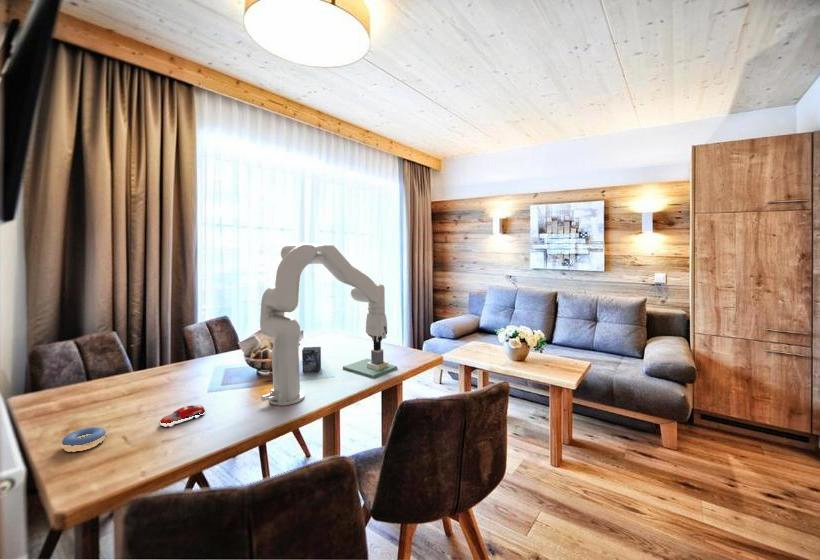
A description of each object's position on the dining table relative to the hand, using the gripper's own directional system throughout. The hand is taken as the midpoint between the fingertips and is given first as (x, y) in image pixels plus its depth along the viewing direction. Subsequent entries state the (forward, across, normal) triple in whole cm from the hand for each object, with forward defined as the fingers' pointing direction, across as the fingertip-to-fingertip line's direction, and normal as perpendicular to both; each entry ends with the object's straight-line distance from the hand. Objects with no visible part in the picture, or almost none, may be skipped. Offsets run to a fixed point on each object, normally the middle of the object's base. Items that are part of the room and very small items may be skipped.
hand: (377, 349), depth 173 cm
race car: (+10, -16, -77) cm, 79 cm away
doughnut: (+10, -21, -101) cm, 104 cm away
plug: (+8, 0, 0) cm, 8 cm away
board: (+9, -3, -2) cm, 10 cm away
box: (+10, -23, -20) cm, 32 cm away
